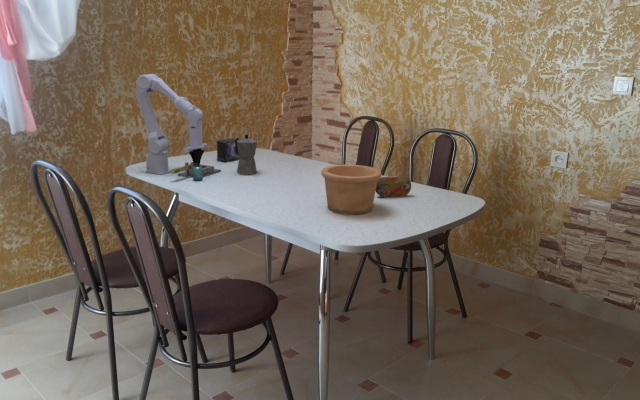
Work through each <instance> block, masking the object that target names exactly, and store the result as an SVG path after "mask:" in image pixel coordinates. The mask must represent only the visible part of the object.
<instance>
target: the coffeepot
mask: <svg viewBox="0 0 640 400" xmlns="http://www.w3.org/2000/svg"><path fill="white" fill-rule="evenodd" d="M244 137H245V138H241V137H236V138H235V139H236V140H235V145H236V150H237V154H238V155H239V156H240V159H239V160H238V164H237V170H236V173H237V175H241V176H254V175H256V174H257V173H258V171H257V164H256V160H255V156H256V151H257V144H258V141H257V140H255V139H252V138H249V134H244Z"/></svg>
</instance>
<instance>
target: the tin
mask: <svg viewBox="0 0 640 400" xmlns="http://www.w3.org/2000/svg"><path fill="white" fill-rule="evenodd" d="M411 190H412V183H411V180H410V179H409V178H408V177H406V176H403V175H398V176H397V175H396V176H392V175H391V176H381V178H380V179H378V181H377V186H376V191H375V194H377V195H378V196H379V197H381V198H384V199H387V198H388V199H389V198H390V199H391V198H403V197H406V196H407V195H408V194H409V193H410V191H411Z"/></svg>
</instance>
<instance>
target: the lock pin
mask: <svg viewBox="0 0 640 400" xmlns="http://www.w3.org/2000/svg"><path fill="white" fill-rule="evenodd" d="M191 163H194V166H198V163H197V162H193V161H192V162H191V161H190V163H188V165H185V164H184V165H183V166H179V167H176V168H172V169H170V170H171V174H172V175H175V174H179V173H182V172H185V170H188V169H191Z"/></svg>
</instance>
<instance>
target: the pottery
mask: <svg viewBox="0 0 640 400" xmlns="http://www.w3.org/2000/svg"><path fill="white" fill-rule="evenodd" d="M320 172H321V176H322V177H323V179H324V186H325V194H326V195H325V196H326V203H327V208H328V210H329V211H331V212H333V213H336V214H340V215H346V214H347V215H346V216H348V215H349V216H357V215H364V214H365V215H366V214H368V213H371V212H372V210H373V205H374V200H375V195H376V186H377V181H378V179H380V178H382V171H381V170H380V169H378V168H375V167H372V166H368V165H361V164H335V165H329V166H325V167H323V168H322V170H321V171H320Z"/></svg>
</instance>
